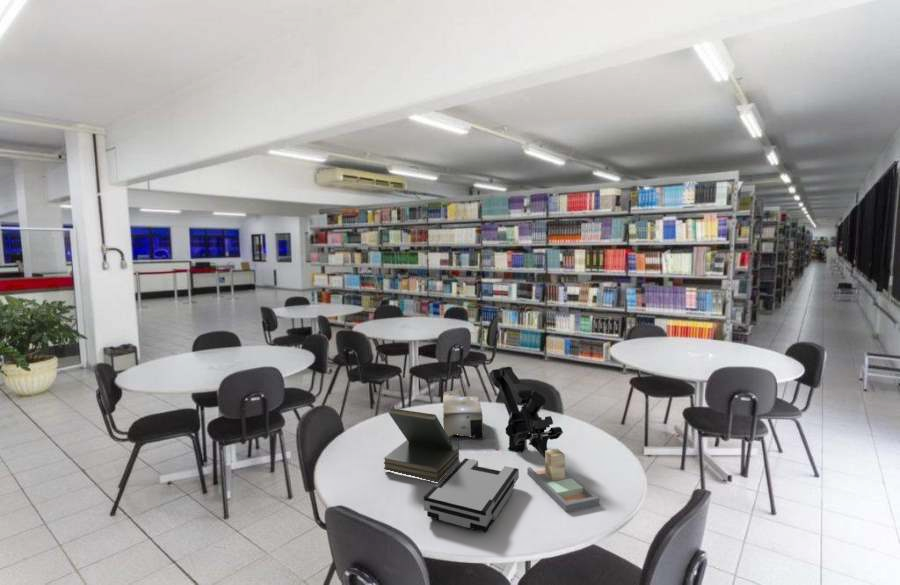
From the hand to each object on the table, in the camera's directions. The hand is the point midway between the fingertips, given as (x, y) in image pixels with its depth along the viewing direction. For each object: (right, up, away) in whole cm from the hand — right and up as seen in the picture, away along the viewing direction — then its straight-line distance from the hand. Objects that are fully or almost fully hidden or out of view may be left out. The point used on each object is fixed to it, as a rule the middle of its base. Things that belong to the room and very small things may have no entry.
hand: (545, 457), depth 173 cm
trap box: (+3, -8, -9) cm, 13 cm away
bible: (-47, -7, +9) cm, 48 cm away
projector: (-32, -3, +48) cm, 57 cm away
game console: (-28, -9, -17) cm, 34 cm away
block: (+2, -5, -6) cm, 8 cm away
